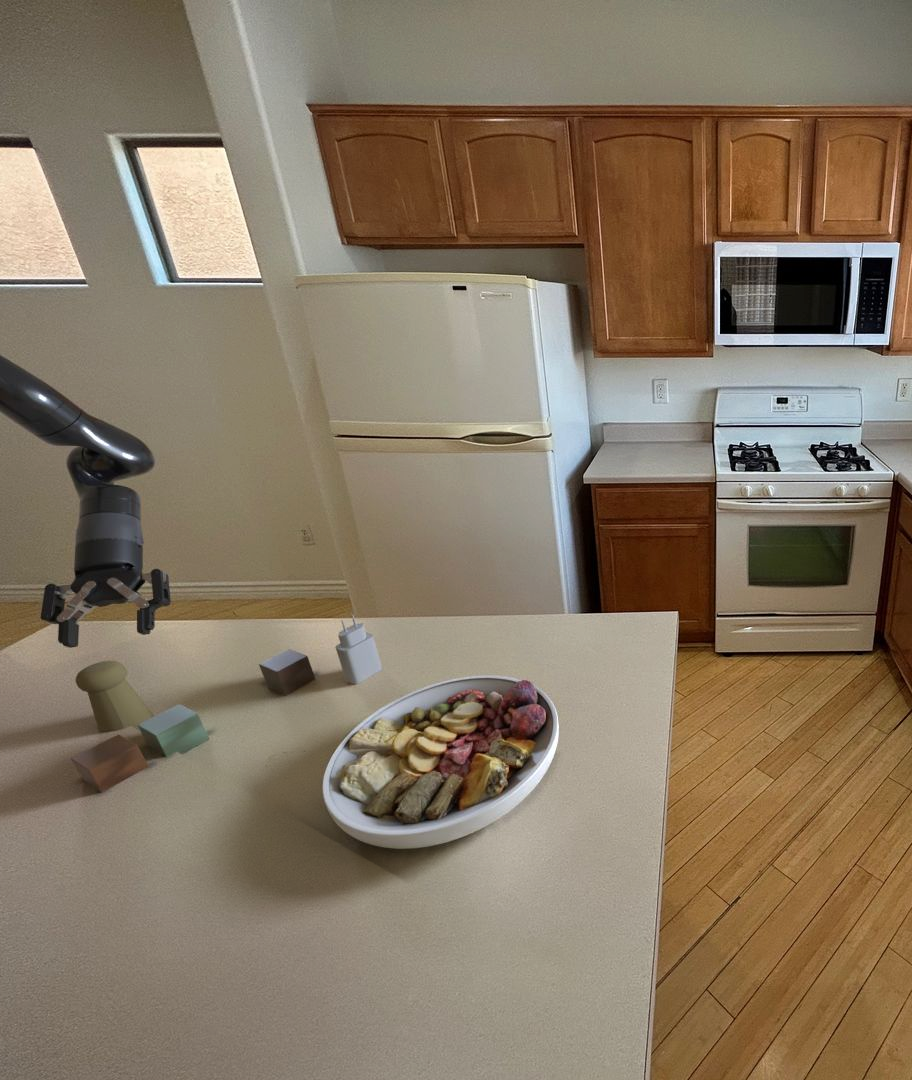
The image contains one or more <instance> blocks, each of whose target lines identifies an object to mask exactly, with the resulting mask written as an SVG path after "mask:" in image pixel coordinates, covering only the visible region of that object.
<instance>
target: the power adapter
mask: <svg viewBox="0 0 912 1080" xmlns="http://www.w3.org/2000/svg"><path fill="white" fill-rule="evenodd" d="M351 618H352V622H353V624H352V625H350V626H348V627H346V624H345V621H344V620H343V619H341V625H342V628H343V629H342V630H340V631H339V632H338V635H337V636H338V641H339V642H340V643H338V644H337V645H335V647H334V648H335V652H336V654H337V656H338V660H339V663H340V667H341V669H342V672H343V676H344V679H345V682H347V683H348V684H351V685H359V684H361V683H362V682H364V681H366V680H368V679H369V678H371V677H372V676H374V675H376V674H377V673H379V672H380V671H382V670H383V667H382V666H383V665H382V662H381V660H380V656H379V653H378V649H377V648H378V647H377V644H376V642H375V638H374V634H371V633H369V632H366V629H365V625H364V623H363V622H360V623H357V621H356V619H355V615H354V614H351Z"/></svg>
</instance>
